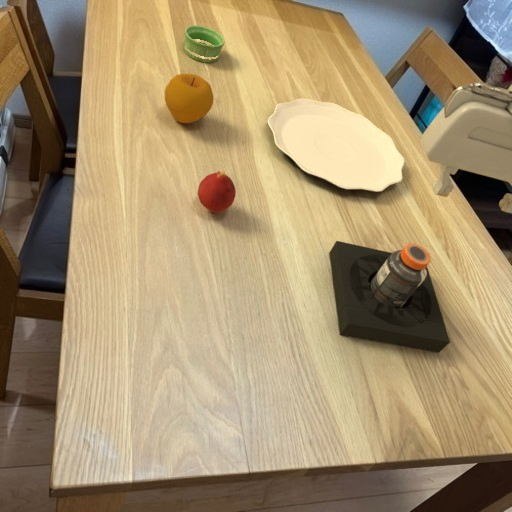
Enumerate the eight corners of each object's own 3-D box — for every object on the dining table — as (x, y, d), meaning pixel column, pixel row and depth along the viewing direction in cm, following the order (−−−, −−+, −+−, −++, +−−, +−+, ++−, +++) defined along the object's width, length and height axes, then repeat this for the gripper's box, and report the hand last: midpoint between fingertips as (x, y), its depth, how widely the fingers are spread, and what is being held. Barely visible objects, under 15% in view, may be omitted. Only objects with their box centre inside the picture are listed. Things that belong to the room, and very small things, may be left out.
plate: (285, 193, 87) (290, 183, 86) (252, 99, 105) (255, 89, 104) (420, 204, 98) (427, 195, 96) (369, 117, 116) (374, 108, 114)
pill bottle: (405, 308, 77) (446, 262, 69) (381, 321, 74) (420, 274, 66) (380, 280, 80) (416, 233, 72) (356, 291, 76) (391, 243, 68)
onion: (223, 197, 82) (235, 159, 76) (233, 222, 79) (246, 184, 73) (190, 197, 79) (200, 158, 74) (198, 223, 76) (209, 184, 70)
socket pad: (439, 352, 73) (450, 342, 71) (339, 335, 70) (348, 323, 67) (416, 271, 84) (425, 259, 82) (329, 252, 80) (336, 240, 78)
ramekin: (224, 53, 116) (229, 35, 112) (214, 69, 109) (218, 50, 106) (188, 39, 115) (192, 20, 112) (176, 54, 109) (179, 35, 106)
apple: (185, 140, 89) (194, 97, 83) (149, 114, 91) (156, 70, 85) (216, 125, 95) (227, 84, 89) (182, 101, 97) (191, 59, 91)
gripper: (473, 92, 47) (402, 199, 56) (644, 144, 51) (551, 235, 61) (455, 62, 51) (391, 166, 61) (614, 111, 55) (531, 202, 65)
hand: (472, 201), depth 61 cm, fingers open, 8 cm apart
